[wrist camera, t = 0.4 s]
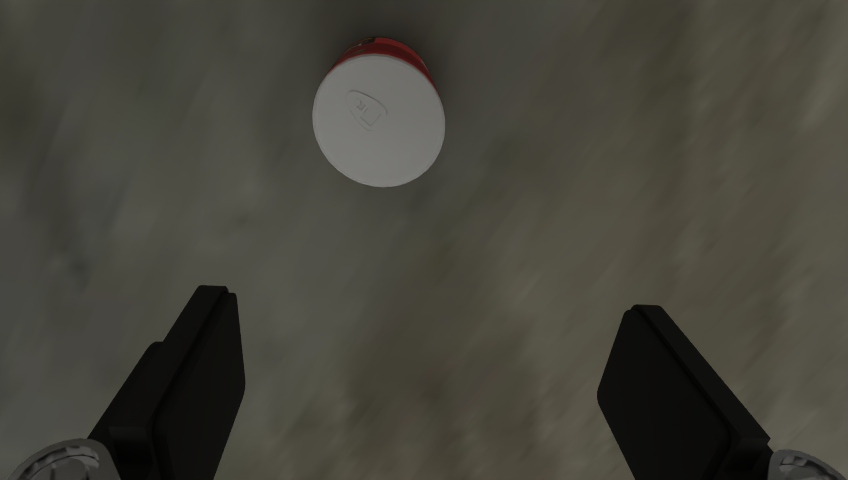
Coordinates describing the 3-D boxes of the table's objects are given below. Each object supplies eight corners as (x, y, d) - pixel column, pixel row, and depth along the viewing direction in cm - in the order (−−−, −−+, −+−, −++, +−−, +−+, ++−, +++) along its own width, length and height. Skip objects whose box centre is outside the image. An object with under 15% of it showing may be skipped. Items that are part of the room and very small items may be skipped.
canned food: (357, 15, 35) (343, 27, 26) (451, 69, 38) (472, 99, 28) (315, 109, 38) (289, 151, 29) (405, 154, 41) (409, 208, 31)
